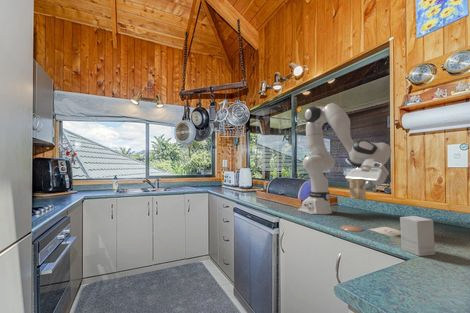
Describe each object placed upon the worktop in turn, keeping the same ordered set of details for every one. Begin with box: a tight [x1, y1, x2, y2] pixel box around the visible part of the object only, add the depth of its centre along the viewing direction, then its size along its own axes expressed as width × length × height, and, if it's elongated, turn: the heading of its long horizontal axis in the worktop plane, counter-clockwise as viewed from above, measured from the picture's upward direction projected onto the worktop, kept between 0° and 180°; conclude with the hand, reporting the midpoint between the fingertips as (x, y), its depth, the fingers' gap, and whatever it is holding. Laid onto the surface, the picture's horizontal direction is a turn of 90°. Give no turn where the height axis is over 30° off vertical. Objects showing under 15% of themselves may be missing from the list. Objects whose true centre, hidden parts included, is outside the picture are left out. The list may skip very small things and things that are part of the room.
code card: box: [368, 226, 401, 237], centre depth 111 cm, size 12×12×1 cm
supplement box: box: [399, 215, 436, 257], centre depth 87 cm, size 7×7×13 cm
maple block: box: [349, 178, 367, 200], centre depth 116 cm, size 5×5×10 cm
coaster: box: [340, 224, 364, 233], centre depth 117 cm, size 10×10×1 cm
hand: (356, 188), depth 116 cm, fingers closed on maple block, 5 cm apart
